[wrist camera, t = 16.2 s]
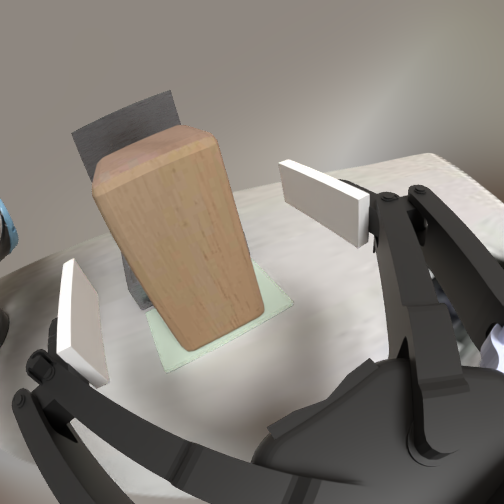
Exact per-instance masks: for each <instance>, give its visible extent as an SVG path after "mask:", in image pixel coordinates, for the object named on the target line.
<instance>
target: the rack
mask: <svg viewBox="0 0 504 504" xmlns="http://www.w3.org/2000/svg"><path fill="white" fill-rule="evenodd" d="M177 125H181V123H180V120H179V116H178V113H177V110H176V107H175V104H174V100H173V97H172V94H171V91H170V90H169V91H166V92H163V93H160V94H157V95H155V96H152V97H149V98H147V99H144V100H142V101H139V102H136V103H134V104H132V105H129V106H127V107H125V108H122V109H120V110H118V111H115V112H113V113H111V114H109V115H106V116H104V117H102V118H100V119H98V120H96V121H94V122H92V123H90V124H88V125H86V126H84V127H82V128H80V129H78V130H76V131H74V132H72V133H71V134H72V136H73V139H74V142H75V144H76V146H77V149H78V152H79V154H80V156H81V159H82V161H83V163H84V166H85V168H86V170H87V173H88V175H89V177H90V179H91V182H92V183H93V178H94V174H95V170H96V166H97V163H98V162H99V161H100V160H101V159H102V158H103V157H105V156H107V155H109V154H111V153H113V152H116V151H118V150H120V149H122V148H124V147H126V146H128V145H131V144H133V143H135V142H137V141H140V140H142V139H144V138H147V137H149V136H151V135H154V134H156V133H159V132H161V131H164V130H166V129H169V128H171V127H174V126H177ZM243 233H244V232H243ZM244 236H245V234H244ZM245 240H246V238H245ZM246 243H247V241H246ZM247 247H248V245H247ZM248 250H249V248H248ZM121 254H122V252H121ZM249 254H250V252H249ZM122 260H123V265H124V271H125V276H126V281H127V286H128V290H129V292H130V293H131V295H132V296H133V298H134V299H135V301H136V302H137V304H138V305H139V307H140V308H141V309H142V310H144V309H146V308H148V307H150V306H152V305H153V304H152V302H151V301H150V299H149V297H148V296H147V294H146V293H145V291H144V289H143V288H142V286H141V285H140V283H139V281H138V280H137V278H136V276H135V275H134V273H133V271H132V270H131V268H130V266H129V264H128V263H127V261H126V259H125V257H124V256H123V254H122Z"/></svg>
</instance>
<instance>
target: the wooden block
mask: <svg viewBox="0 0 504 504" xmlns="http://www.w3.org/2000/svg"><path fill="white" fill-rule="evenodd" d="M92 196H93V198H94V200H95V203H96V205H97V206H98V208H99V210H100V212H101V215H102V217H103V218H104V220H105V222H106V224H107V226H108V228H109V230H110V232H111V234H112V236H113V238H114V239H115V241H116V243H117V245H118V247H119V249H120V250H121V252H122V254H123V256H124V257H125V259H126V261H127V263H128V264H129V266H130V268H131V270H132V271H133V273H134V275H135V276H136V278H137V280H138V281H139V283H140V285H141V286H142V288H143V289H144V291H145V293H146V294H147V296H148V297H149V299H150V301H151V302H152V304H153V305H154V307H155V308H156V310H157V311H158V313H159V314H160V316H161V317H162V319H163V320H164V322H165V323H166V325H167V326H168V328H169V329H170V331H171V332H172V334H173V335H174V337H175V338H176V339H177V341H178V342H179V344H180V345H181V346H182V347H183V348H184V349H185V350H187V351H195V350H197V349H199V348H201V347H203V346H205V345H207V344H209V343H211V342H213V341H214V340H216V339H218V338H220V337H222V336H224V335H226V334H228V333H230V332H232V331H234V330H236V329H238V328H239V327H241V326H243V325H245V324H247V323H249V322H251V321H252V320H254V319H256V318H258V317H260V316H261V315H262V314H263V313H264V310H265V308H264V303H263V299H262V296H261V292H260V289H259V285H258V282H257V278H256V275H255V271H254V268H253V264H252V261H251V257H250V254H249V250H248V247H247V243H246V240H245V236H244V233H243V229H242V226H241V222H240V219H239V215H238V212H237V208H236V205H235V201H234V198H233V194H232V191H231V187H230V184H229V180H228V177H227V173H226V169H225V166H224V163H223V159H222V155H221V152H220V148H219V145H218V141H217V140H216V139H215V137H214V136H213V135H212V134H211V133H209V132H206V131H202V130H199V129H196V128H193V127H189V126H186V125H177V126H174V127H171V128H169V129H166V130H164V131H161V132H159V133H156V134H154V135H151V136H149V137H147V138H144V139H142V140H140V141H137V142H135V143H133V144H131V145H128V146H126V147H124V148H122V149H120V150H118V151H116V152H113V153H111V154H109V155H107V156H105V157H103V158H102V159H101V160H100V161H99V162H98V163H97V166H96V170H95V174H94V178H93V183H92Z"/></svg>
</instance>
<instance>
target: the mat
mask: <svg viewBox="0 0 504 504" xmlns="http://www.w3.org/2000/svg"><path fill="white" fill-rule="evenodd" d="M251 261H252V264H253V268H254V271H255V275H256V278H257V282H258V285H259V289H260V292H261V296H262V299H263V303H264V308H265V310H264V313H263V314H262V315H261V316H260V317H258V318H256V319H254V320H252V321H251V322H249V323H247V324H245V325H243V326H241V327H239V328H238V329H236V330H234V331H232V332H230V333H228V334H226V335H224V336H222V337H220V338H218V339H216V340H214V341H213V342H211V343H209V344H207V345H205V346H203V347H201V348H199V349H197V350H195V351H187V350H185V349H184V348H183V347H182V346H181V345H180V344H179V342H178V341H177V339H176V338H175V337H174V335H173V334H172V332H171V331H170V329H169V328H168V326H167V325H166V323H165V322H164V320H163V319H162V317H161V316H160V314H159V313H158V311H157V310H156V308H154V309H152V310H150V311H148V312H146V317H147V320H148V323H149V327H150V330H151V333H152V336H153V339H154V342H155V345H156V348H157V351H158V354H159V357H160V360H161V362H162V365H163V368H164V371H165V372H166V373H169V372H171V371H173V370H175V369H177V368H179V367H181V366H183V365H185V364H187V363H189V362H191V361H193V360H195V359H197V358H199V357H201V356H203V355H205V354H207V353H208V352H210V351H212V350H214V349H216V348H218V347H220V346H222V345H224V344H225V343H227V342H229V341H231V340H233V339H235V338H236V337H238V336H240V335H242V334H244V333H245V332H247V331H249V330H251V329H253V328H254V327H256V326H258V325H260V324H261V323H263V322H265V321H267V320H268V319H270V318H272V317H274V316H275V315H277V314H279V313H280V312H282V311H284V310H286V309H287V308H289V307H291V306H292V305H293V301H292V300H291V299H290V298H289V297H288V296H287V295H286V294H285V293H284V292H283V291H282V290H281V289H280V288H279V287H278V286H277V284H276V283H275V282H274V281H273V280H272V279H271V278H270V277H269V276H268V275H267V274H266V273H265V272H264V271H263V270H262V269H261V268H260V267H259V266H258V265H257V264H256V263H255V262H254V261H253V260H252V259H251Z"/></svg>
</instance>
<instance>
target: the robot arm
mask: <svg viewBox="0 0 504 504" xmlns="http://www.w3.org/2000/svg"><path fill="white" fill-rule="evenodd" d="M278 164H279V170H280V176H281V181H282V187H283V192H284V198H285V202H287V203H288V204H290V205H291V206H293V207H295V208H296V209H298V210H300V211H301V212H303V213H304V214H306V215H308V216H309V217H311V218H312V219H314V220H315V221H317V222H319V223H320V224H322V225H323V226H325V227H326V228H328V229H329V230H331V231H333V232H334V233H336V234H337V235H339V236H340V237H342V238H343V239H345V240H346V241H348V242H349V243H351V244H352V245H354V246H355V247H357V248H360V247H361V246H363V245H364V244H366V243H367V242H368V238H369V232H370V233H372V234H373V235H374V246H373V253H375V250H376V255H377V260H378V266H379V272H380V278H381V284H382V291H383V298H384V305H385V313H386V321H387V331H388V341H389V357H388V359H387V360H382V361H379V362H376V363H374V362H373V361H372V360H371V359H370V358H369V359H368V360H366V361H365V362H364V363H363V364H361V365H360V366H359V367H357V368H356V369H355V370H353V371H352V372H351V373H349V374H348V375H347V376H346V377H345V379H344V380H343V381H342V382H341V383H340V385H339V386H338V387H337V388H336V389H335V390H334V392H333V393H332V394H331V395H330V396H329V397H328V398H327V399H326V400H324V401H321V402H318V403H316V404H313V405H310V406H308V407H305V408H302V409H299V410H296V411H294V412H292V413H290V414H289V415H287V416H285V417H284V418H282V419H280V420H279V421H277V422H275V423H274V424H272V425H270V426H268V427H267V429H268V430H269V432H270V433H271V434H268V435H267V436H266V437H265V438H264V440H263V441H262V442H261V443H260V444H259V446H258V448H257V449H256V451H255V453H254V455H253V457H252V461H251V463H248V462H245V461H242V460H239V459H236V458H233V457H231V456H228V455H225V454H222V453H220V452H217V451H214V450H212V449H209V448H207V447H204V446H202V445H199V444H197V443H194V442H189V441H187V440H185V439H182V438H180V437H178V436H176V435H174V434H172V433H170V432H167V431H165V430H163V429H161V428H159V427H157V426H156V425H154V424H152V423H150V422H148V421H146V420H144V419H142V418H141V417H139V416H137V415H135V414H133V413H132V412H130V411H128V410H126V409H125V408H123V407H121V406H120V405H118V404H116V403H115V402H113V401H112V400H110V399H108V398H107V397H105V396H104V395H102V394H101V393H99V392H98V391H96V390H95V389H93V388H92V387H90V386H89V383H90V384H92V385H93V386H94V387H95V388H96V389H97V388H99V387H101V386H103V385H106V384H108V383H110V381H109V376H108V370H107V365H106V359H105V353H104V346H103V339H102V331H101V323H100V314H99V303H98V293H97V292H96V290H95V289H94V287H93V286H92V284H91V283H90V281H89V280H88V279H87V277H86V276H85V274H84V273H83V271H82V270H81V268H80V266H79V265H78V263H77V262H76V260H75V259H74V258H73V259H71V260H70V261H68V262H66V263H64V264H63V271H62V279H61V287H60V297H59V308H58V317H57V318H55V319H54V320H52V323H51V325H50V328H49V338H48V344H49V345H48V353H47V352H46V351H45V350H43V349H40V350H37V351H35V352H34V353H33V354H32V355H31V356H30V358H29V359H28V361H27V365H26V372H27V374H28V375H29V376H30V377H31V378H32V379H33V380H34V381H36V382H37V383H38V384H39V386H38V387H37V388H36V389H35V390H33V391H32V392H29V391H28V390H27V389H24V388H22V389H20V390H18V391H17V392H16V394H15V395H14V398H13V400H12V409H13V412H14V415H15V418H16V420H17V423H18V425H19V428H20V430H21V432H22V435H23V437H24V439H25V442H26V444H27V446H28V448H29V450H30V452H31V454H32V456H33V458H34V460H35V462H36V464H37V466H38V468H39V470H40V472H41V474H42V475H43V477H44V479H45V480H46V482H47V484H48V486H49V487H50V489H51V491H52V492H53V494H54V496H55V497H56V499H57V500H58V502H59V503H60V504H135V503H133V501H132V500H130V498H129V497H128V496H127V495H126V494H125V493H124V492H123V491H122V490H121V489H120V488H119V486H118V485H117V484H116V483H115V482H114V481H113V480H112V479H111V477H110V476H109V475H108V474H107V473H106V471H105V470H104V469H103V468H102V467H101V465H100V464H99V463H98V461H97V460H96V459H95V458H94V456H93V455H92V454H91V452H90V451H89V450H88V448H87V447H86V446H85V444H84V443H83V441H82V440H81V439H80V437H79V436H78V434H77V433H76V431H75V430H74V428H73V427H72V425H71V424H70V421H71V420H72V419H73V418H76V419H78V420H79V421H80V422H81V423H82V424H84V425H85V426H86V427H87V428H89V429H90V430H91V431H92V432H94V433H95V434H96V435H98V436H99V437H100V438H102V439H103V440H104V441H106V442H107V443H108V444H110V445H111V446H113V447H114V448H115V449H117V450H118V451H120V452H121V453H123V454H124V455H126V456H127V457H129V458H130V459H132V460H133V461H135V462H137V463H138V464H140V465H141V466H143V467H145V468H146V469H148V470H150V471H152V472H153V473H155V474H157V475H159V476H160V477H162V478H164V479H166V480H167V481H169V482H170V483H171V484H172V485H173V486H175V487H176V488H178V489H180V490H182V491H184V492H186V493H188V494H190V495H192V496H194V497H197V498H199V499H201V500H203V501H206V502H208V503H210V504H504V270H503V268H502V267H501V266H500V265H499V263H498V262H497V261H496V259H495V258H494V257H493V256H492V255H491V253H490V252H489V251H488V250H487V249H486V247H485V246H484V245H483V244H482V243H481V242H480V240H479V239H478V238H477V237H476V236H475V235H474V234H473V232H472V231H471V230H470V229H469V228H468V227H467V226H466V225H465V224H464V223H463V222H462V221H461V220H460V218H459V217H458V216H457V215H456V214H455V213H454V212H453V211H452V210H451V209H450V208H449V207H448V206H447V205H446V204H445V203H444V202H443V201H442V200H441V199H440V198H439V197H437V196H436V195H435V194H434V193H433V192H432V191H431V190H430V189H429V188H427V187H425V186H423V185H413V186H410V187H409V190H408V195H407V196H403V197H399V196H398V195H397V194H395V193H391V192H381V193H379V194H376V193H374V192H372V191H369V190H367V189H365V188H363V187H360V186H359V185H355V184H354V183H352V182H350V181H347V180H341V179H335V178H333V177H331V176H328V175H326V174H324V173H321V172H319V171H316V170H314V169H312V168H309V167H306V166H304V165H302V164H299V163H297V162H294V161H292V160H289V159H288V160H285V161H282V162H280V163H278ZM427 224H428V225H427ZM17 244H18V234H17V231H16V228H15V227H14V224H13V221H12V219H11V217H10V215H9V213H8V211H7V209H6V207H5V205H4V204H3V202H2V200H1V199H0V261H1V260H2V259H4V258H5V256H7V255H8V254H10V253H11V252H12V250H13V249H14V248H15V246H17ZM427 265H428V267H429V268H430V270H431V271H432V273H433V274H434V276H435V278H436V279H437V281H438V282H439V284H440V286H441V287H442V289H443V291H444V292H445V294H446V295H447V297H448V299H449V301H450V302H451V304H452V306H453V307H454V309H455V311H456V313H457V315H458V316H459V318H460V320H461V322H462V324H463V326H464V327H465V329H466V331H467V333H468V335H469V336H470V338H471V340H472V342H473V343H474V344H475V346H476V347H477V349H478V350H479V351H480V352H481V360H480V367H470V366H461V361H460V356H459V351H458V347H457V342H456V338H455V334H454V330H453V326H452V322H451V318H450V314H449V311H448V308H447V306H446V304H445V303H439V302H438V299H437V296H436V292H435V289H434V286H433V282H432V279H431V276H430V273H429V270H428V267H427ZM8 326H9V318H8V316H7V315H6V314H5V313H4V311H3V310H2V309H1V308H0V346H1V345H2V343H3V341H4V339H5V336H6V334H7V330H8ZM272 436H273V437H272Z"/></svg>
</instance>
